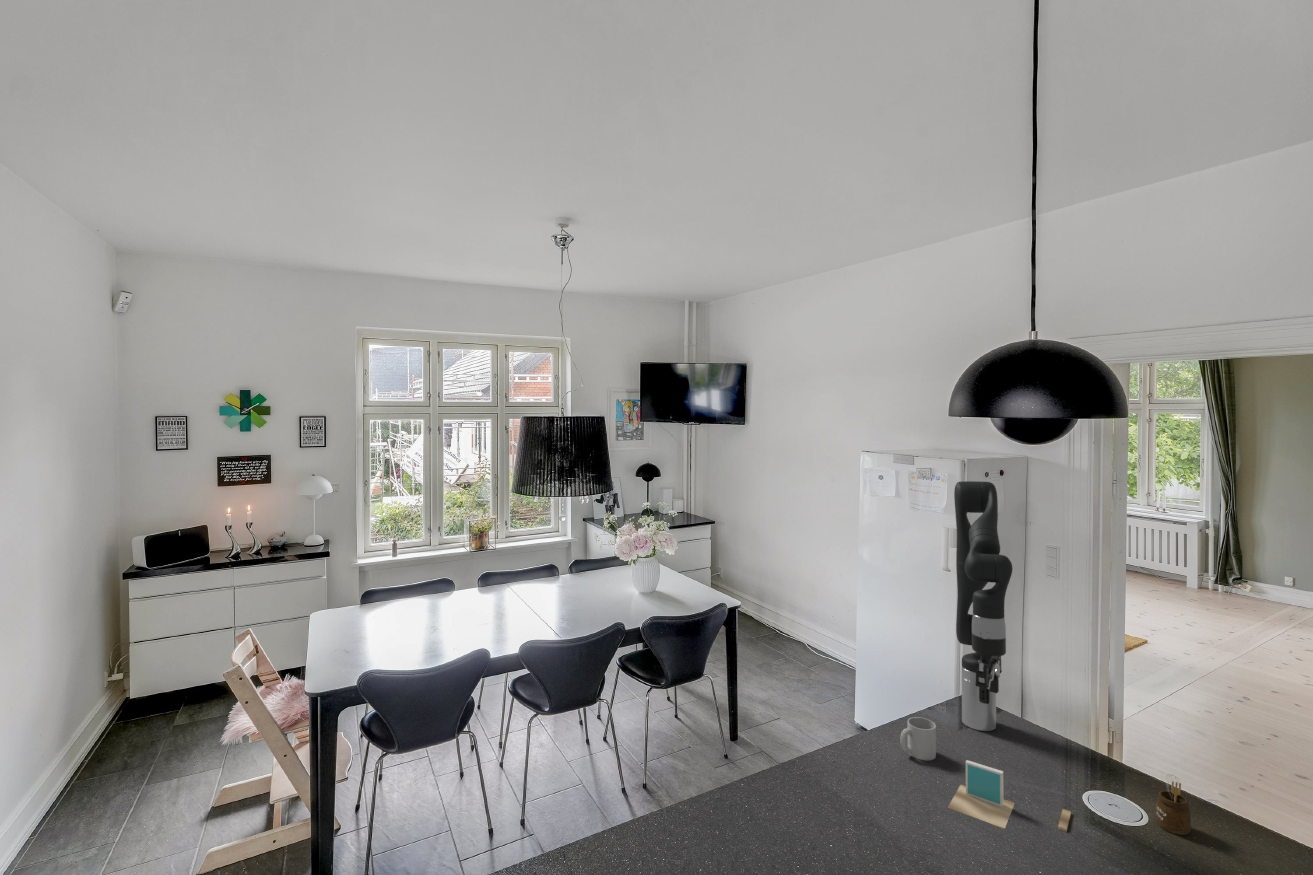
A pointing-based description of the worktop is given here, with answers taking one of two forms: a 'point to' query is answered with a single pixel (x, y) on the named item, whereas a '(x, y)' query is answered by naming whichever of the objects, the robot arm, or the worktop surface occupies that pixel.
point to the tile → (984, 783)
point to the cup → (919, 738)
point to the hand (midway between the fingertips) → (989, 697)
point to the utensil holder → (1173, 811)
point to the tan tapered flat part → (1064, 820)
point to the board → (981, 808)
